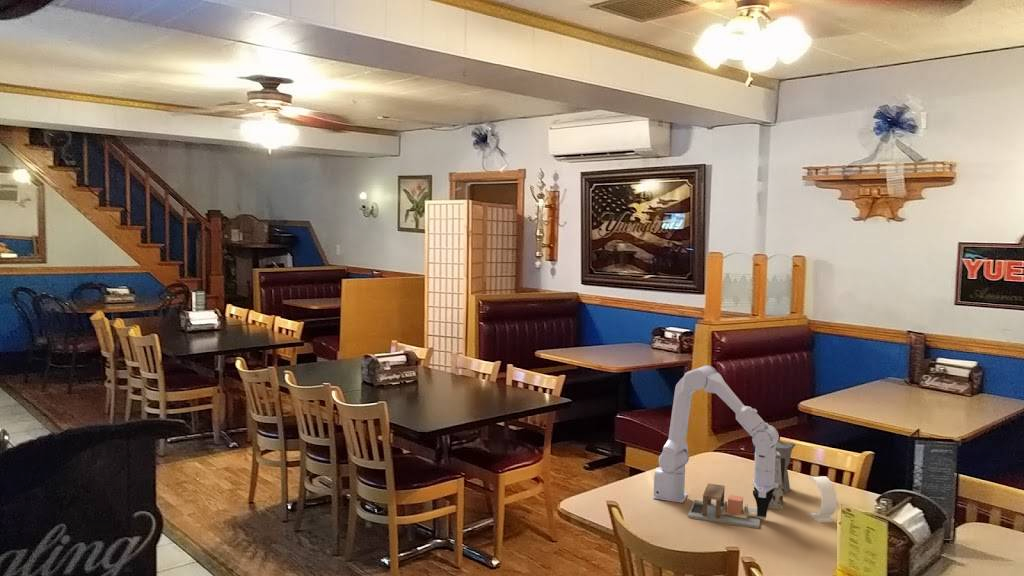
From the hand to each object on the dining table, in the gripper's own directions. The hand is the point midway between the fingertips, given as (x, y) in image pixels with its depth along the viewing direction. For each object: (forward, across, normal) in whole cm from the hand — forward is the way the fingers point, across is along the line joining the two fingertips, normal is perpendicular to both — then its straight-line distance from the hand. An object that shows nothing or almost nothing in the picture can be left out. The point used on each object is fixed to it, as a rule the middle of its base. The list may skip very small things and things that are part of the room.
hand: (762, 513), depth 220 cm
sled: (+1, 0, +5) cm, 5 cm away
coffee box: (+2, +15, -2) cm, 15 cm away
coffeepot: (+2, +29, -2) cm, 29 cm away
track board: (+2, 0, +10) cm, 11 cm away
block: (0, 0, +8) cm, 8 cm away
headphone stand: (+2, +8, -16) cm, 18 cm away
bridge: (+2, 0, +14) cm, 14 cm away
